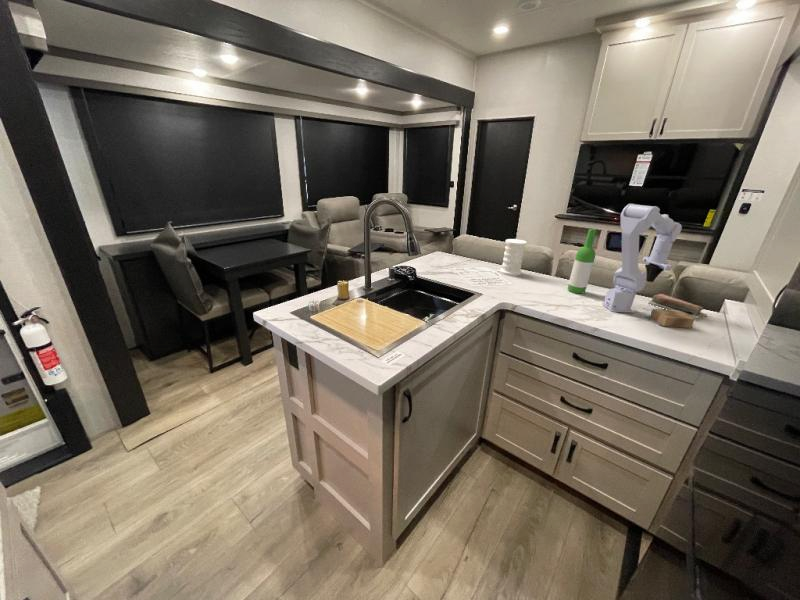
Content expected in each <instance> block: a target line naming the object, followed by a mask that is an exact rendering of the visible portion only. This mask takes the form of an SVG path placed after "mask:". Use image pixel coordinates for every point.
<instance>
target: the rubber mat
mask: <svg viewBox="0 0 800 600" xmlns="http://www.w3.org/2000/svg"><path fill="white" fill-rule="evenodd" d="M646 319H649V320H650V321H651V322H653V323H654V324H656V325H657V326H659V327H664V326H663V325H661V324H660V323H658V322H657V321H655V320H654V319H652V318H651V317H650V315H646Z"/></svg>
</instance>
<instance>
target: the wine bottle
mask: <svg viewBox="0 0 800 600" xmlns="http://www.w3.org/2000/svg"><path fill="white" fill-rule="evenodd" d="M596 233H597V229H596V228H588V231H587V235H586V238H585V241H584V245H583V246H582V247H580V248H579V249H578V250H577V252H576V254H575V258H574V261H573V265H572V270H571V272H570V273H571V274H570V277H569V281H568V285H567V290H568V291H569V292H570V293H574V294H578V295H579V294H584V293H585V292H586V290H587V287H588V284H589V280H590V276H591V273H592V269H593V267H594V263H595V262H594V261H595V258H596V251H595V249H594V248H593V244H594V240H595V236H596Z"/></svg>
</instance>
